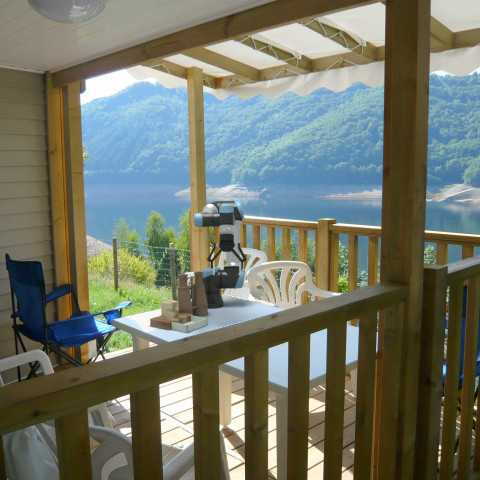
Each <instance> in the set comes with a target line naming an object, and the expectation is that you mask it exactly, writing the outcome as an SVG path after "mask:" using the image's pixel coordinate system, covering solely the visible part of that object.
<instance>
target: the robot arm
mask: <svg viewBox="0 0 480 480" xmlns="http://www.w3.org/2000/svg"><path fill="white" fill-rule="evenodd" d="M243 220H245V214H244V205H243V202H242V201H240V200H216V201H213V202H210V203H207V204H206V205H204V207H203V208H202V211H201V212H198V213H195V214H194V215H193V225H194V227H195V228H218V227H219V231H218V232H219V243H217V242H214V243H213V245H212V246H213V247H212V249H211V252H210V253H209V255H208V257H207V259H206V261H207V262H209V263H210V267H207V268H204V269H203V270H201V271H202V272H203V274H202V275H203V283H204V284H205V285H204V287H205V293H206V299H207V303H208V305H207V307H208V309H218V308H222V307H224V305H225V303H224V301H225V300H223V296H222V293H221V290H222V289H223V290H224V289H226V290H227V289H235V290H237V289H242V288H243V287H244V284H245V276H246V269H244V262H247V260H248V259H247V257H246V256H245V253H244V251H243V249H242V248H241V234H240V233H241V229H240V228H241V224H243ZM218 247H219V250H218V251H217V253H215V250H216V249H217V248H218ZM222 252H223V253H225V265H223V269H221V267H219V266H215V263H216V262H215V260H216V259H217V258H218V257H219V255H220V254H221V253H222ZM214 253H215V254H214ZM213 254H214V256H213ZM212 256H213V257H212Z"/></svg>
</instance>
